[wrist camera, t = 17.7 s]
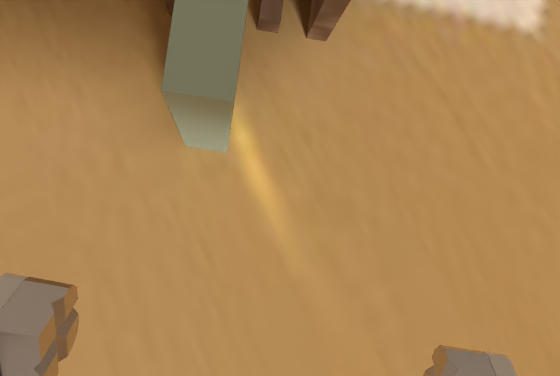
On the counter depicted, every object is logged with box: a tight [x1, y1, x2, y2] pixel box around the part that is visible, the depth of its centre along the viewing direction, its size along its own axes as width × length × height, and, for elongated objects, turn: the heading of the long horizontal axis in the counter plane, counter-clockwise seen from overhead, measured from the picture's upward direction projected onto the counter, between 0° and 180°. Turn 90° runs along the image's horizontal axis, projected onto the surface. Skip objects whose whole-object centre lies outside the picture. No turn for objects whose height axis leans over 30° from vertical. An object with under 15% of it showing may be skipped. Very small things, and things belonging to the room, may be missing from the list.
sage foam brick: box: [161, 0, 248, 152], centre depth 29 cm, size 3×5×16 cm, turn 172°
